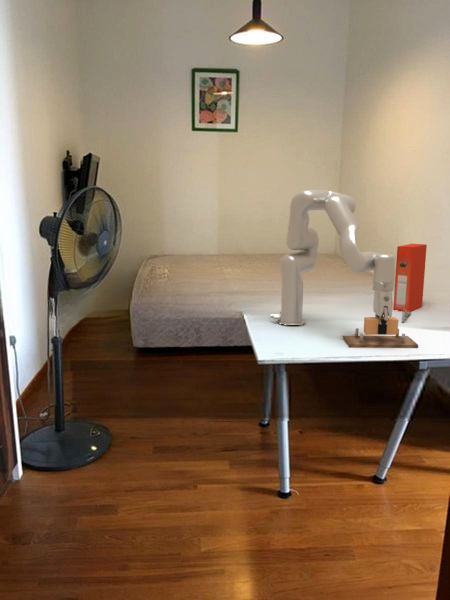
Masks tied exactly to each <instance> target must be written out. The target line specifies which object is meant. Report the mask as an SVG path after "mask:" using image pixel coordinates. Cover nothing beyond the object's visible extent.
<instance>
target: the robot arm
mask: <svg viewBox="0 0 450 600" xmlns="http://www.w3.org/2000/svg"><path fill="white" fill-rule="evenodd" d="M289 208H290V209H289V220H288V225H287V233H286V246H287V248H288V249H289V250H292V251H295V252H289V253H286V254H285V255H283V256H282V257H281V259H280V261H279V267H280V269H279V270H280V274H281V277H280V278H281V298H280V299H281V300H280V301H281V304H280V306H281V307H280V311H279V313H270V318H271V319H273V320H276V319H277V321H278V322H279V323H281V324H286V325H301V326H304V325H305V324H306V322H307V321H306V319H304V318H303V304H304V303H303V302H304V281H303V277H302V274H305V273H308V272H310V271H312V270H313V269H314V268H315V265H316V261H317V254H318V248H319V235H318V232H317V231H316V230H315V229H314V228H312V227H309V226H310V214H309V211H325V213H326V215H327V216H328V217H329V220H330V221H331V223H332V225H333V227H334V229H335V230H336V232H337V234H338V236H339V237H338V238H339V241H338V242H339V250H340V253H341V255H342V258H343V260H344V262H345V263H346V265H347V266H348V268H349V269H350V270H351V271H353V272H355V273H358V274H360V273H365V272H371V271H373V276H372V277H373V278H372V290H373V292H374V293H373V303H372V309H373V310H372V311H373V312H374V313H375V314H374V317H379V324H378V334H386V333H387V321H388V317H393V292H394V287H395V272H396V256H395V255H394V254H391V253H380V252H376V251H363V252H362V251H361V250H360V249H359V247H358V245H357V242H356V239H355V238H356V237H355V236H356V233H357V231H358V230H359V229H360V225H359V222H358V221H357V219H356V217H355V216H354V214H353V213H355V210H356V208H357V207H356V202H355V199H354V198H353V197H352V196H350V195H348V194H344V193H339V192H337V191H332V190H328V189H304V190H301V191H299V192H297V193H295V194H294V196H293V197H292V199H291V201H290V206H289ZM381 318H383V319H382V321H381ZM277 321H276V322H277ZM278 322H277V323H278ZM279 323H278V324H279ZM281 324H280V325H281ZM303 324H304V325H303Z"/></svg>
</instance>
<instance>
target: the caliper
mask: <svg viewBox="0 0 450 600" xmlns="http://www.w3.org/2000/svg"><path fill="white" fill-rule="evenodd" d="M411 315H412V311H410V312H406V309H403V312H401V323H402V322H403V324H404V323H405V322H406V318H407V316H411Z"/></svg>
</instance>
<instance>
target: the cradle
mask: <svg viewBox="0 0 450 600" xmlns="http://www.w3.org/2000/svg"><path fill="white" fill-rule="evenodd" d="M354 330H355V335H342V340H343V341H344V342H345V344H346V345H347V347H348V348H355V349H357V348H358V349H359V348H360V349H361V348H365V349H366V348H372V349H373V348H374V349H375V348H377V349H378V348H379V349H380V348H381V349H382V348H384V349H385V348H386V349H387V348H388V349H395V348H396V349H419V344H418V343H417V342H415V340H414V339H412V338H411V337H410V336H408V335H406V333H401V335H400V328H398V334H397V335H364V333H359V332H360V330H359V328H355V329H354Z"/></svg>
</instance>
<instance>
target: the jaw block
mask: <svg viewBox="0 0 450 600" xmlns="http://www.w3.org/2000/svg"><path fill="white" fill-rule="evenodd" d="M382 319H383V318H381V321H382ZM378 324H379V317H375V316H372V317H371V316H364V319H363V334H365V336H396V335H397V334H398V329H399V319H398V318H397V317H395V316H391V317H389V316H388V321H387V333H386V334H378Z"/></svg>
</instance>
